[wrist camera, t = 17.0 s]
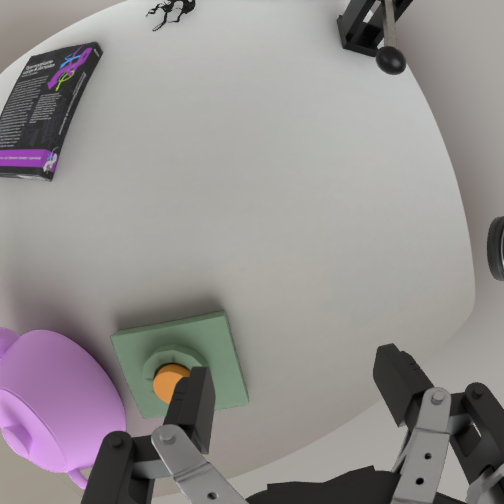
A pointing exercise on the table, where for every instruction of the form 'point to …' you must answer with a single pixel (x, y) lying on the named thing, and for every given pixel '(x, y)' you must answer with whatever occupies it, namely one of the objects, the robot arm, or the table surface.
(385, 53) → the lever
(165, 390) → the button
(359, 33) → the black lever mount
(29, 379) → the teapot
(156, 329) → the control block
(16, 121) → the box
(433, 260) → the table surface
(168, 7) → the creature
